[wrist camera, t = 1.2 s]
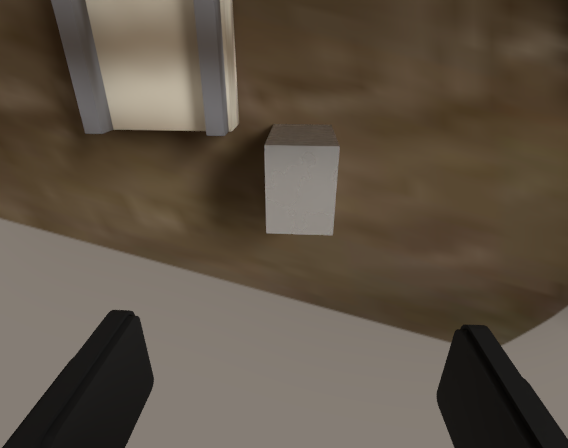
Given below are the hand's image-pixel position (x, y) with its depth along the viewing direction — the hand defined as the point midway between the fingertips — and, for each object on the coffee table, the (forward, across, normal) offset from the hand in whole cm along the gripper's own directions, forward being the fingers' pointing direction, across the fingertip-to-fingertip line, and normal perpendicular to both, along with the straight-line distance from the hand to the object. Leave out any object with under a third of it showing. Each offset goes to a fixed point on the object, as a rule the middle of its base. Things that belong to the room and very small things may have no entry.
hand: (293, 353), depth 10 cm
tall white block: (+20, 0, 0) cm, 20 cm away
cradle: (+20, +10, -9) cm, 24 cm away
